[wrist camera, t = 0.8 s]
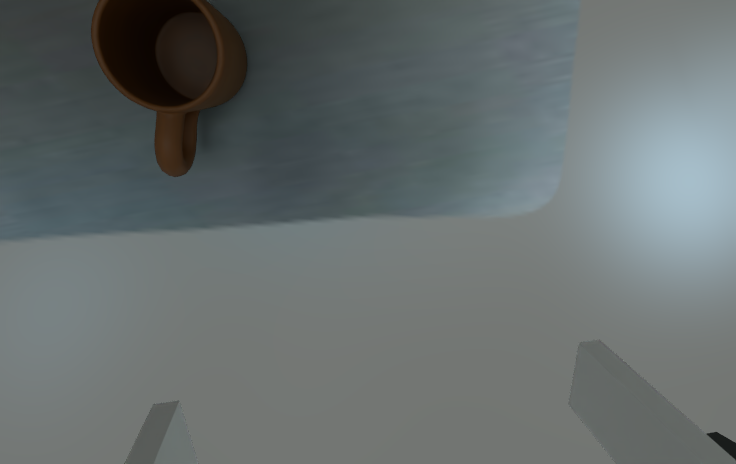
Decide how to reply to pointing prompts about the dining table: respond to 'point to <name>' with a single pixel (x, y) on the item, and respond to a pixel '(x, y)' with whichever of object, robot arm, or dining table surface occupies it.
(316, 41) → the dining table surface
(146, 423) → the robot arm
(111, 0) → the mug
